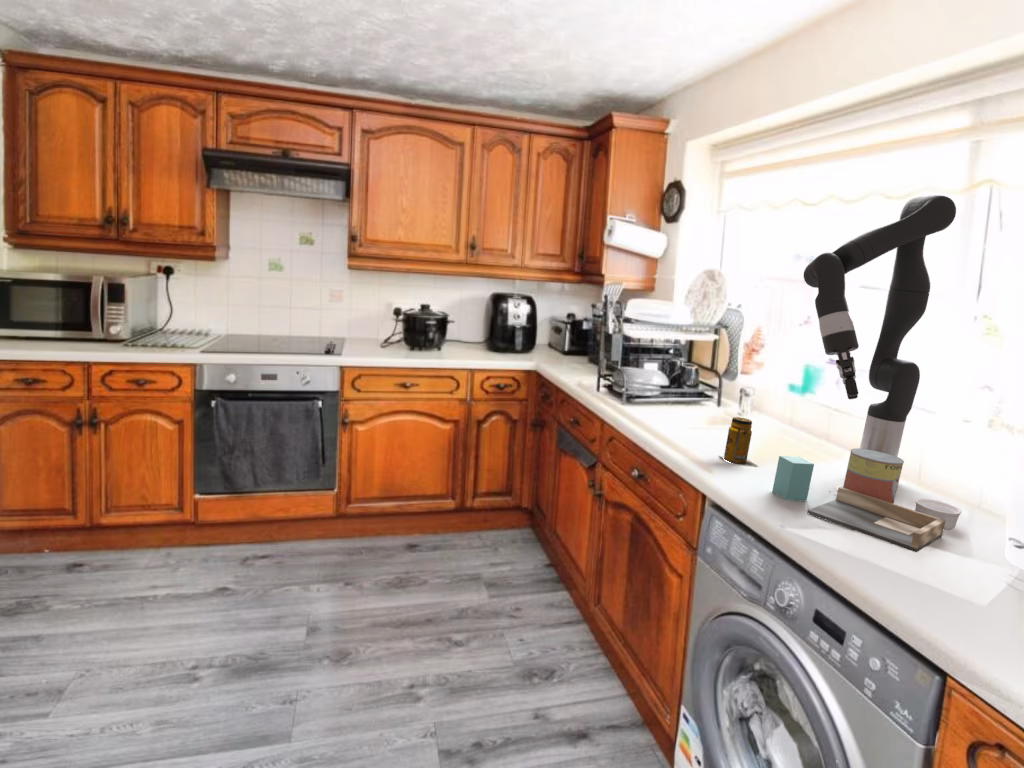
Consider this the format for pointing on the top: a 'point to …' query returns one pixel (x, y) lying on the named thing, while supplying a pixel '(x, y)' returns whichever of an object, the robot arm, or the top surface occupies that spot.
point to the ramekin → (939, 511)
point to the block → (793, 478)
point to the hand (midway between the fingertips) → (853, 397)
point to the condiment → (739, 442)
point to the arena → (881, 519)
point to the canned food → (873, 474)
